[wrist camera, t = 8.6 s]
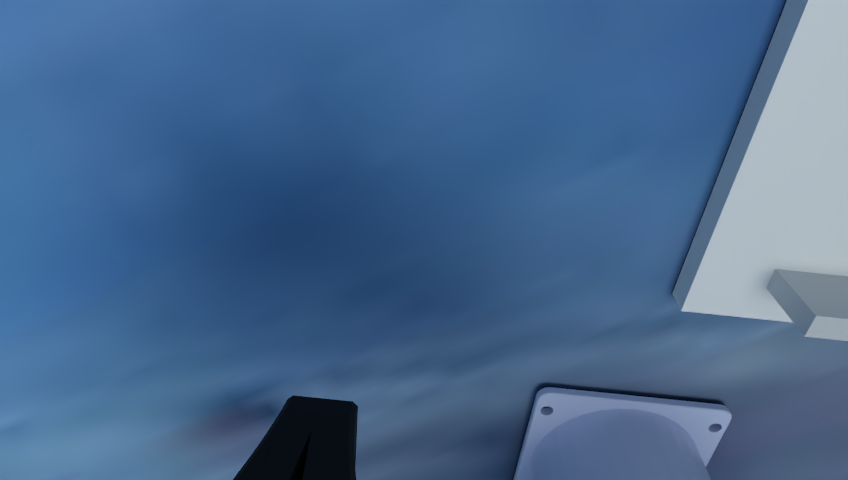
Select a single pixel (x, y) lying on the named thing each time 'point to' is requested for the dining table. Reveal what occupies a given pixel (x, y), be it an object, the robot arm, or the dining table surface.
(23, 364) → the dining table surface
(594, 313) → the dining table surface
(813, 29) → the gauge frame
